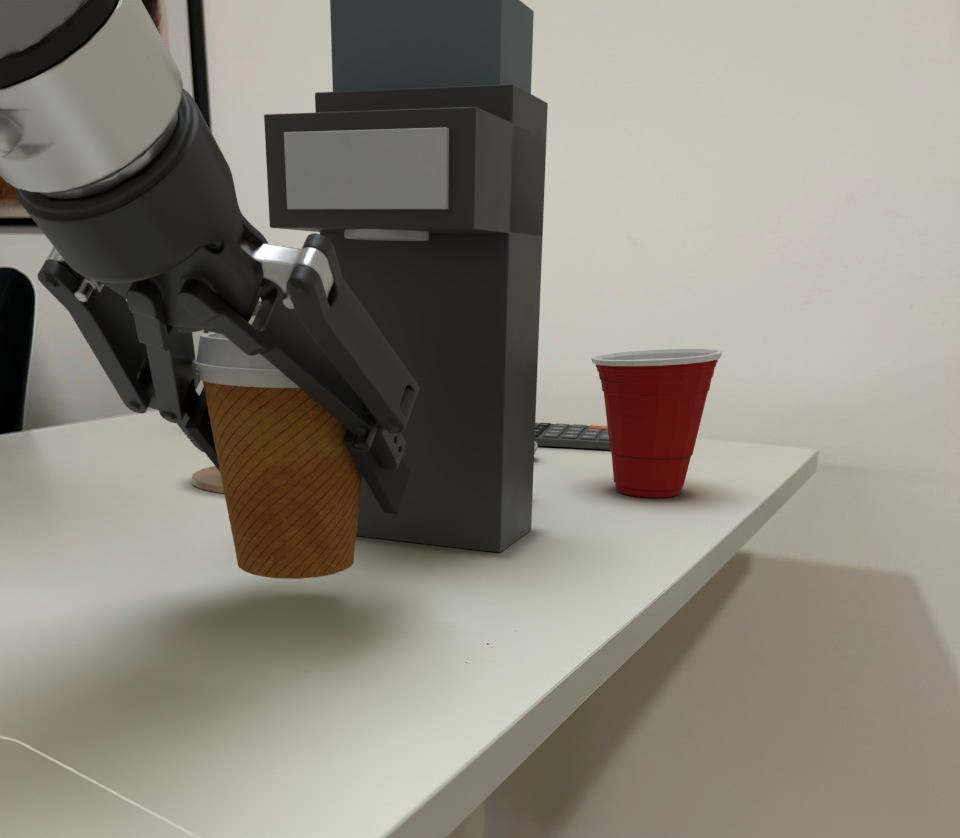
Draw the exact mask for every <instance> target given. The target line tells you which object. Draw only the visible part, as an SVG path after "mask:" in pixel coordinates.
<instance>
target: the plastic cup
mask: <svg viewBox="0 0 960 838" xmlns="http://www.w3.org/2000/svg"><path fill="white" fill-rule="evenodd" d="M722 354H723V350H720V349H719V350H718V349H712V348H711V349H710V348H709V349H708V348H667V349H648V350H647V349H645V350H632V351H623V352H621V351H620V352H613V353H612V352H611V353H604V354H600V355H595V356H592V357H591V358H590V359H591V362H592V364H594V365H595V368H596V371H597V372H598V379H599V380H600V383H601V391H602V392H603V397H604V398H603V399H604V408H605V417H606V426H607V427H608V436H609V445H610V449H609V451H610V453H611V462H612V463H611V464H612V475H613V476H612V477H613V482H614V483H615V486H614V487H615V490H616V491H617V492H618V493H619V494H623V495H626V496H632V497H639V498H652V499H654V498H656V499H657V498H659V499H660V498H670V497H671V498H672V497H675V496H679V495H681V493H682V489H683V487H684V486H685V482H686V478H687V474H688V470H689V466H690V462H691V458H692V456H693V455H694V450H695V446H696V443H697V438H698V434H699V431H700V427H701V422H702V418H703V413H704V409H705V405H706V401H707V396H708V394H709V391H710V389H711V384H712V379H713V377H714V373H715V369H716V368H717V363H718V362H719V360H720V359H721V358H722Z"/></svg>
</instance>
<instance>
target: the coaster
mask: <svg viewBox="0 0 960 838" xmlns="http://www.w3.org/2000/svg"><path fill="white" fill-rule="evenodd" d="M191 482H192V485H193V486H194V487H195V488H197V489H201V490H204V491H206V492H212V493H219V494H224V489H223V485H222V478H221V474H220V471H219V470H218V469H217V467H216V466H215V465H213V466H209V467H205V468H202V469H199V470H197V471H195V472H194V473H192V475H191Z"/></svg>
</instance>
